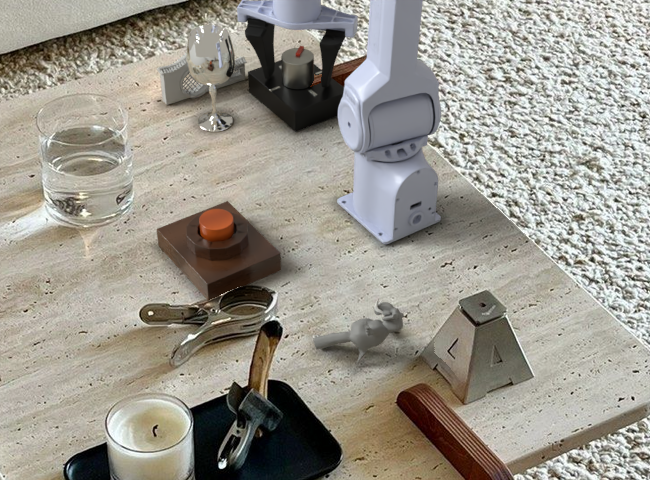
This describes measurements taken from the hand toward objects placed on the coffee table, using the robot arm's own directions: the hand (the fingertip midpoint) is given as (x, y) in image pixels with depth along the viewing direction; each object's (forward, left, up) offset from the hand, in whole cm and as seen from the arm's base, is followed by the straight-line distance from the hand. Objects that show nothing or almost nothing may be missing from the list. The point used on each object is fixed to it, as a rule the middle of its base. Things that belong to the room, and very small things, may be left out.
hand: (297, 79), depth 148 cm
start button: (-21, +24, 0) cm, 32 cm away
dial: (0, 0, 0) cm, 0 cm away
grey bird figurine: (-42, +20, -3) cm, 47 cm away
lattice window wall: (+9, +9, -3) cm, 13 cm away
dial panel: (0, 0, -3) cm, 3 cm away
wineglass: (+2, +11, -3) cm, 12 cm away
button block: (-21, +24, -3) cm, 32 cm away
